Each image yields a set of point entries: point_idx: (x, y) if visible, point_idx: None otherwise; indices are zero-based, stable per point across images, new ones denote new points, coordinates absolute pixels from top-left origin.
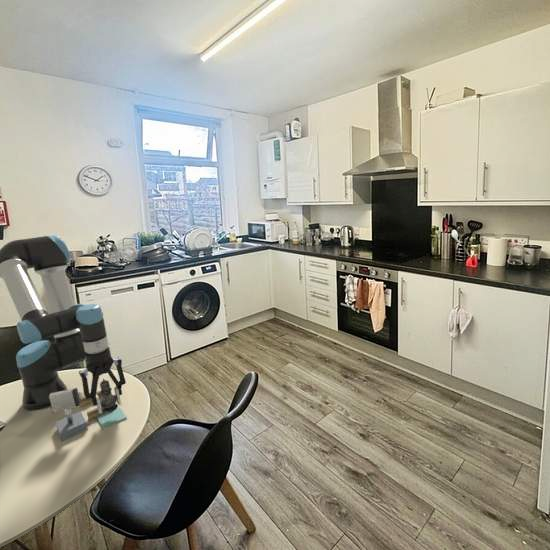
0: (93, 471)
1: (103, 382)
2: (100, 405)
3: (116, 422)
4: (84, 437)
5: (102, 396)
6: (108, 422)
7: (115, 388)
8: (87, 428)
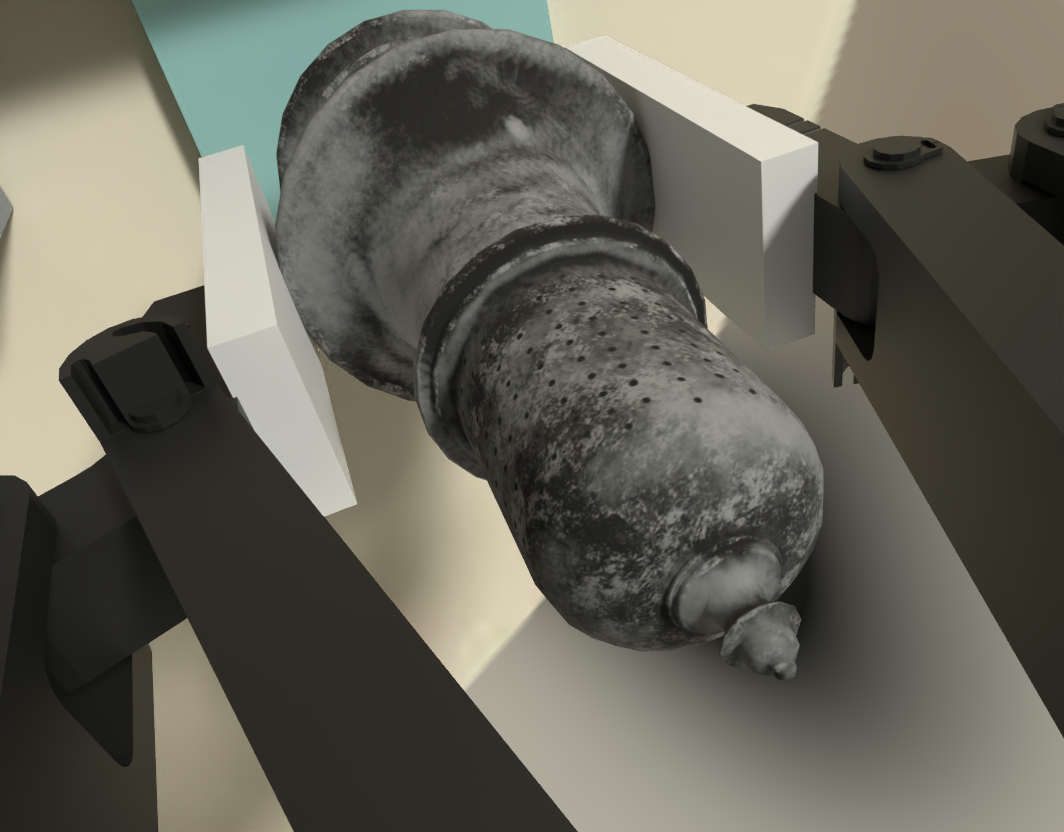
0: (256, 785)
1: (687, 632)
2: (321, 366)
3: None
4: (19, 373)
5: (412, 332)
6: None
7: (774, 286)
8: (7, 213)
